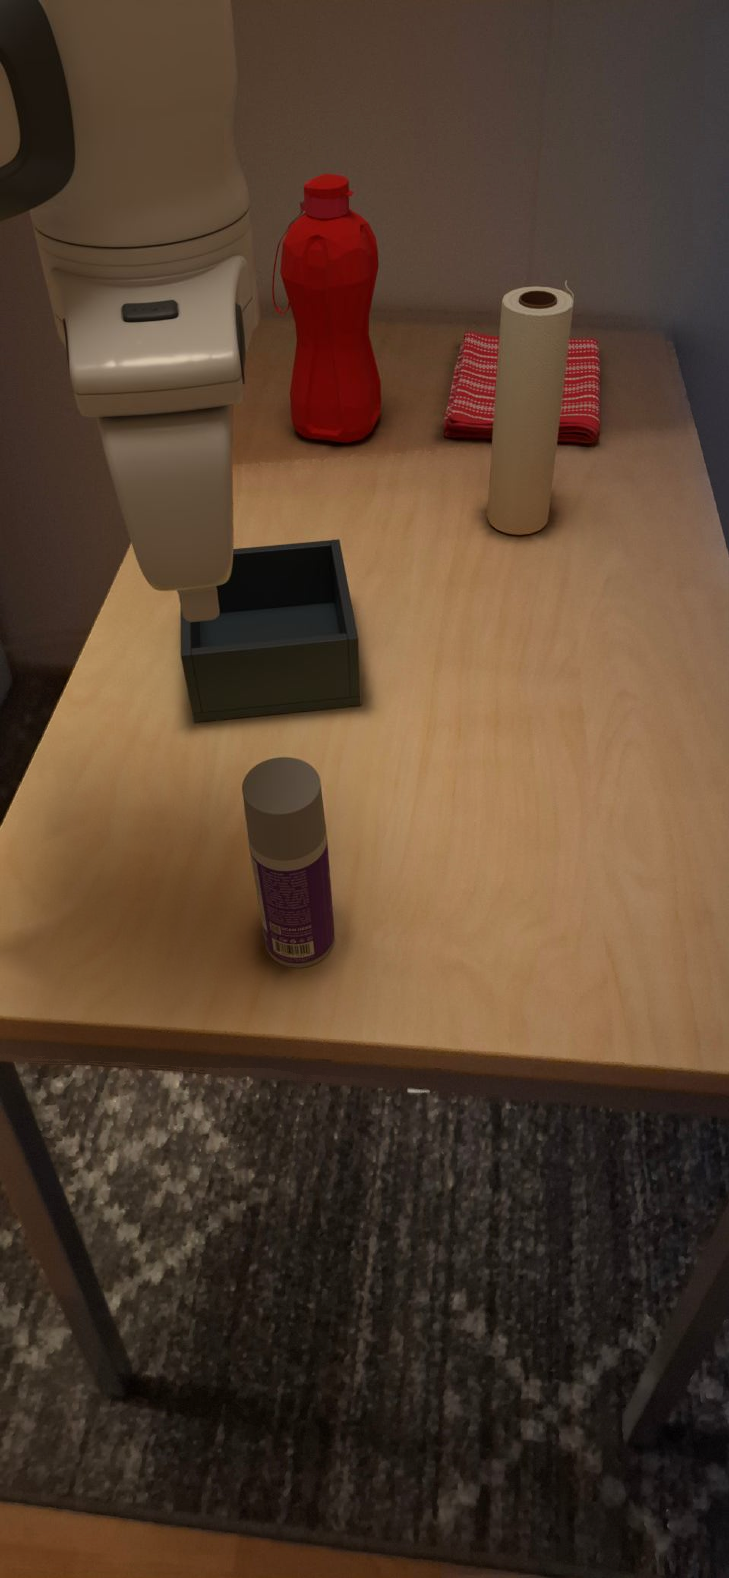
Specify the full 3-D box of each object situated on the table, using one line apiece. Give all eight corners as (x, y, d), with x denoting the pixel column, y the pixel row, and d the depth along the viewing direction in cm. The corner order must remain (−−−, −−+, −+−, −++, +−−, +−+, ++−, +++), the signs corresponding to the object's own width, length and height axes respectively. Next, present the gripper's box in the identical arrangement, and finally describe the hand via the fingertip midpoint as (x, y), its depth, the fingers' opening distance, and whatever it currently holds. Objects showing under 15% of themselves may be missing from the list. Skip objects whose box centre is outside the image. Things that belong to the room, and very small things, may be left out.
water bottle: (296, 400, 121) (278, 159, 103) (387, 411, 119) (385, 165, 101) (270, 439, 115) (245, 190, 97) (365, 451, 113) (359, 197, 95)
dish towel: (440, 441, 114) (441, 418, 112) (459, 346, 130) (460, 325, 128) (599, 450, 112) (603, 426, 110) (598, 352, 128) (601, 330, 126)
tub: (193, 722, 84) (180, 655, 79) (192, 619, 93) (180, 553, 88) (360, 705, 85) (358, 638, 80) (342, 605, 94) (339, 539, 89)
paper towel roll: (501, 542, 100) (520, 317, 85) (477, 510, 104) (490, 290, 89) (569, 527, 102) (600, 303, 86) (542, 496, 106) (567, 277, 90)
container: (349, 936, 70) (340, 782, 59) (299, 980, 67) (279, 829, 56) (300, 898, 72) (283, 743, 61) (250, 940, 70) (222, 786, 59)
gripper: (87, 207, 51) (138, 464, 61) (67, 398, 37) (136, 690, 47) (216, 198, 52) (245, 454, 62) (243, 383, 38) (275, 675, 48)
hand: (198, 558), depth 54 cm, fingers open, 8 cm apart
